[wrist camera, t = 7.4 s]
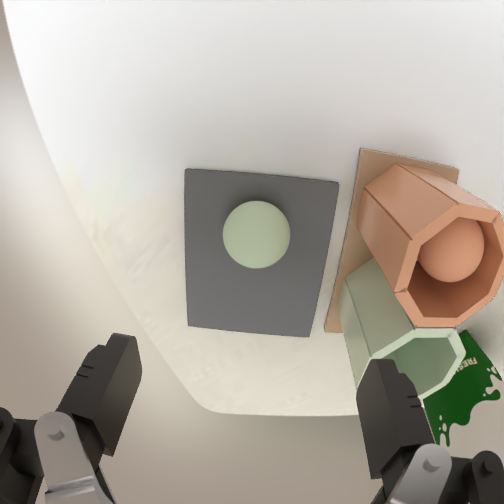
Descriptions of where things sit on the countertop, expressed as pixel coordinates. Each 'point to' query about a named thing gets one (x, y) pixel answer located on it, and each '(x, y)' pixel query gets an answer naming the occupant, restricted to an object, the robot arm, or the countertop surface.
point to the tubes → (409, 270)
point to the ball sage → (256, 234)
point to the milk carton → (469, 406)
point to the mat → (255, 279)
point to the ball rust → (453, 251)
